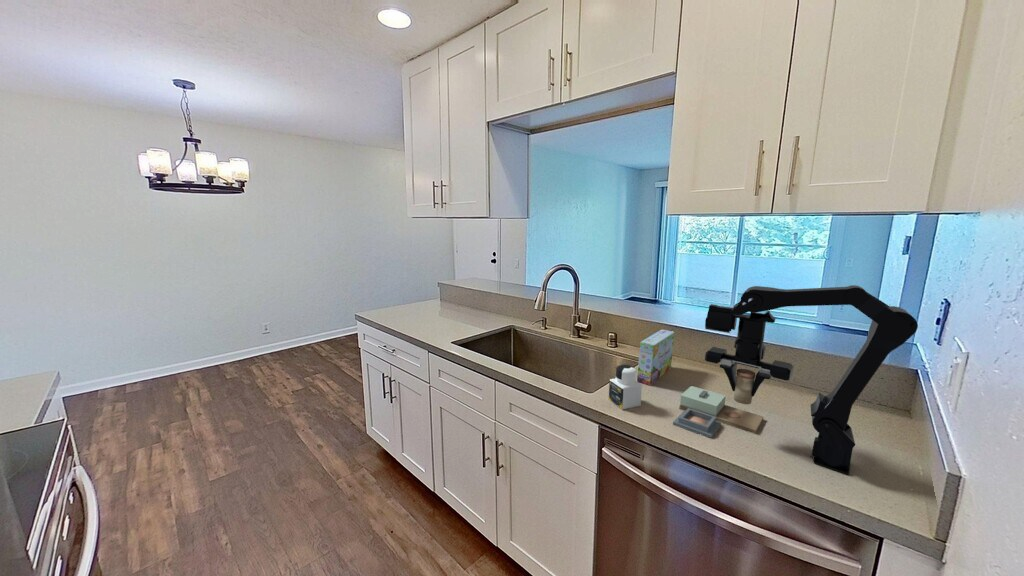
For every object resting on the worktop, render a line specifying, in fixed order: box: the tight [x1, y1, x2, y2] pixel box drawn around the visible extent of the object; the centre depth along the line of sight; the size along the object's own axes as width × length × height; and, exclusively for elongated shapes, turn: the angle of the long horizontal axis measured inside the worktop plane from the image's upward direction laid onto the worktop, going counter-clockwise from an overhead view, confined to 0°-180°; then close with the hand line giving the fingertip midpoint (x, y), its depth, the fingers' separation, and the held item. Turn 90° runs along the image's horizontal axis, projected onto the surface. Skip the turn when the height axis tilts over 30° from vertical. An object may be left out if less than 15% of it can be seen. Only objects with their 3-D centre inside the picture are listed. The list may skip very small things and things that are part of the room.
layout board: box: [679, 404, 764, 435], centre depth 112 cm, size 20×10×1 cm, turn 47°
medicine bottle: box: [608, 364, 643, 411], centre depth 118 cm, size 7×7×12 cm
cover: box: [679, 385, 726, 416], centre depth 115 cm, size 10×9×4 cm
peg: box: [733, 368, 756, 405], centre depth 99 cm, size 4×4×8 cm
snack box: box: [636, 329, 676, 386], centre depth 140 cm, size 21×6×15 cm, turn 139°
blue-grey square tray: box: [672, 408, 722, 439], centre depth 107 cm, size 10×9×2 cm
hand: (743, 393), depth 99 cm, fingers closed on peg, 4 cm apart
